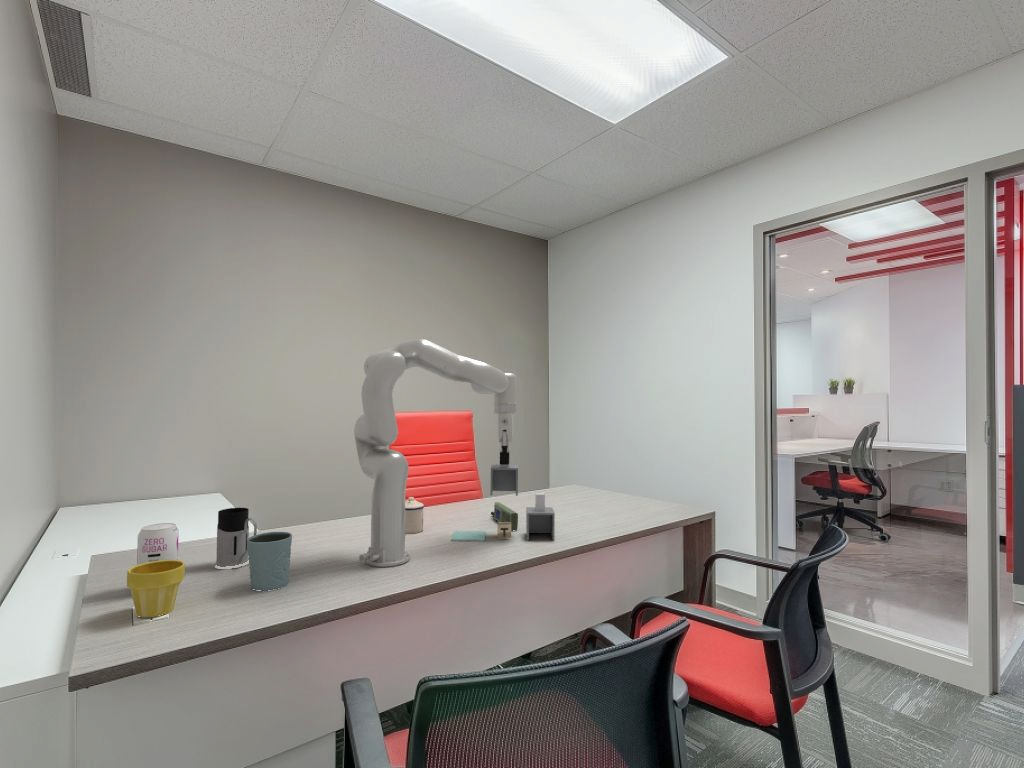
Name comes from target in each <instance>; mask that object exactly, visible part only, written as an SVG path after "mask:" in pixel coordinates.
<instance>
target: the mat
mask: <svg viewBox="0 0 1024 768" xmlns="http://www.w3.org/2000/svg"><path fill="white" fill-rule="evenodd" d="M486 534H487V530H454V531H453V534H452V535H451V539H450V541H451V542H485V540H486Z"/></svg>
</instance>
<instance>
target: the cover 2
mask: <svg viewBox="0 0 1024 768" xmlns="http://www.w3.org/2000/svg"><path fill="white" fill-rule="evenodd" d="M534 503H535V507H533V506H532V507H530V506H529V507H528V506H527V507H526V510H525V511H526V512H525V514H526V517H525V518H526V519H525V521H526V522H525V523H526V525H525V528H526V529H525V533H526V535H527V536H526V541H527V540H529V541H530V534H529V533H551V534H550V536H552V537H551V540H552V539H553V540H554V541H555V528H556V527H555V510H554V509H553V507H552V506H551V507H547V506H546V493H545V492H535V502H534ZM553 540H552V541H553Z"/></svg>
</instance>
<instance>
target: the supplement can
mask: <svg viewBox="0 0 1024 768" xmlns="http://www.w3.org/2000/svg"><path fill="white" fill-rule="evenodd" d="M179 534H180V533H179V528H178V527H177V524H176V523H173V522H163V523H162V522H161V523H153V524H148V525H144V526H143V527H141V528H140V531H139V533H138V534H137V550H136V551H137V556H136V557H137V560H136V565H140V564H143V563H148V562H153V561H160V560H179Z"/></svg>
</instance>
